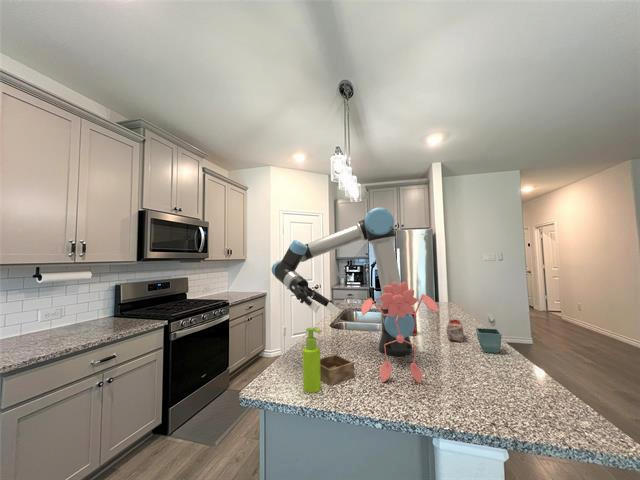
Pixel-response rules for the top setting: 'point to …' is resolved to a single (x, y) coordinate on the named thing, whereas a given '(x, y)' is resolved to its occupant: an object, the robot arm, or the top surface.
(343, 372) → the walnut caddy
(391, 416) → the top surface
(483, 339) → the flower pot
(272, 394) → the top surface
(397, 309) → the figurine
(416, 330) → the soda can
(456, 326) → the food item
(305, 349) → the soap dispenser
